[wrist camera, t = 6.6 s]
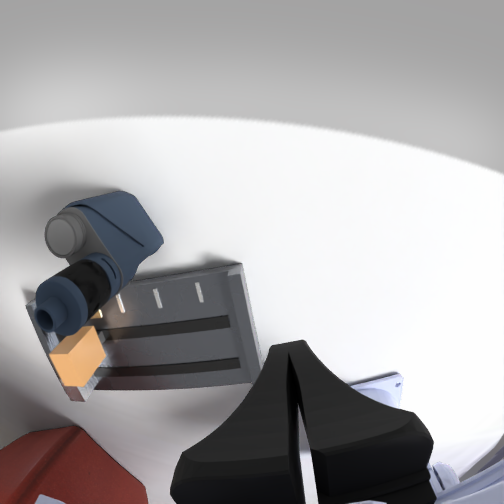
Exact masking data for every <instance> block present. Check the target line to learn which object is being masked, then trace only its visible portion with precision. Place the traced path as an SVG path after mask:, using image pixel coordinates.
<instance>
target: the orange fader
mask: <svg viewBox="0 0 504 504" xmlns="http://www.w3.org/2000/svg"><path fill="white" fill-rule="evenodd" d="M104 341H105V337H104V335H103V332H102V331H96V330H95V328H94V326H85V327H82V328H81V329H80V330H79V331H78V332H77V333H75V334H74V335H71V336H66V337H65V338H64V339H63V340H62V341H61V342H60V343H59V344H58V345H57V346H56V347H55V348H54V350H53V351H52V352H51V353H50V354H49V356H50V358H51V360H52V362H53V364H54V366H55V368H56V370H57V372H58V374H59V376H60V378H61V380H62V382H63V384H64V385H65V386H77V387H84V386H85V384H86V383H87V382H88V380H89V379H90V377H91V376H92V375H93V373H94V372H95V370H96V369H97V368H98V366H99V365H100V364H101V362H102V361H103V359H104V358H105V357H106V354H105V352H104V350H103V347H102V344H103V342H104Z"/></svg>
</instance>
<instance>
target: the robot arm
mask: <svg viewBox="0 0 504 504" xmlns="http://www.w3.org/2000/svg"><path fill="white" fill-rule="evenodd" d="M397 383H398V384H397ZM402 387H403V376H402V375H401V374H396V375H392V376H389V377H385V378H381V379H377V380H373V381H369V382H365V383H361V384H357V385H353V386H349V385H347V384H346V383H344V382H343V381H342V380H341V379H339V378H338V377H337V376H336V375H335V374H333V373H332V372H331V371H330V370H329V369H328V368H327V367H326V366H325V365H324V364H323V363H322V362H321V361H320V360H319V359H318V358H317V356H316V355H315V354H314V353H313V351H312V350H311V349H310V347H309V346H308V344H307V342H306V341H304V340H298V341H293V342H288V343H282V344H277V345H272V346H271V347H270V349H269V353H268V356H267V358H266V361H265V363H264V366H263V368H262V370H261V372H260V374H259V376H258V378H257V380H256V381H255V383H254V385H253V386H252V388H251V390H250V391H249V393H248V394H247V396H246V397H245V399H244V400H243V401H242V403H241V404H240V405H239V407H238V408H237V409H236V410H235V411H234V412H233V413H232V414H231V416H230V417H229V418H228V419H227V420H226V421H225V422H224V423H223V424H222V425H221V426H219V427H218V428H217V429H216V430H215V431H213V432H212V433H211V434H210V435H208V436H207V437H206V438H204V439H203V440H201V441H200V442H198V443H197V444H195V445H194V446H192V447H190V448H189V449H187V450H185V451H184V452H182V454H181V456H180V459H179V461H178V463H177V466H176V468H175V472H174V476H173V479H172V483H171V487H170V495H171V497H172V498H173V500H174V501H175V502H176V504H306V502H305V494H304V486H303V478H302V470H301V462H300V454H299V420H298V405H299V408H300V412H301V416H302V419H303V423H304V427H305V430H306V434H307V438H308V441H309V445H310V450H311V456H312V463H313V469H314V476H315V482H316V489H317V496H318V503H319V504H504V459H503V460H501V461H500V462H498V463H496V464H495V465H493V466H491V467H489V468H488V469H486V470H484V471H482V472H480V473H478V474H476V475H475V476H473V477H471V478H469V479H467V480H465V481H463V482H461V483H460V481H459V479H458V477H457V475H456V474H455V472H454V470H453V469H452V467H451V466H450V465H449V464H444V463H443V464H442V463H441V462H437V463H436V464H434V465H433V470H434V472H433V470H432V468H431V466H430V464H429V459H430V456H431V453H432V450H433V444H434V441H433V439H432V437H431V435H430V433H429V431H428V429H427V428H426V426H425V425H424V424H423V423H422V421H421V420H420V419H419V418H418V416H417V415H416V414H415V413H413V412H409V411H406V410H402V409H400V403H401V395H402ZM35 504H65V503H64V502H62V501H59V500H56V499H53V498H50V497H48V496H45V495H39V497H38V499H37V500H36V502H35Z"/></svg>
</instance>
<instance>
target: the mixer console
mask: <svg viewBox="0 0 504 504" xmlns="http://www.w3.org/2000/svg"><path fill="white" fill-rule="evenodd" d="M35 299H36V298H35ZM35 299H34V300H33V301H31V302H30V303H28V304H27V305H25V306H26V309H27V311H28V314H29V316H30V319H31V321H32V324H33V326H34V328H35V331H36V333H37V335H38V338H39V340H40V342H41V344H42V347H43V349H44V351H45V353H46V355H47V357H48V359H49V361H50V363H51V365H52V367H53V369H54V371H55V373H56V375H57V377H58V379H59V381H60V383H61V385H62V386H63V388H64V390H65V392H66V394H68V396H69V398H70V400H71V401H81V402H86V400H87V399H88V397H89V395H90V394H91V392H92V391H93V390H165V389H185V388H200V387H212V386H223V385H233V384H242V383H251V382H252V383H253V385H254V383H255V381H256V380H257V378H258V376H259V374H260V372H261V370H262V368H263V362H262V357H261V352H260V348H259V343H258V338H257V333H256V328H255V324H254V319H253V314H252V309H251V304H250V299H249V294H248V290H247V285H246V280H245V275H244V270H243V265H242V263H240V264H235V265H229V266H223V267H217V268H211V269H205V270H199V271H193V272H187V273H181V274H174V275H168V276H162V277H156V278H150V279H144V280H138V281H131V282H130V284H129V285H127V286H126V287H125V288H123V289H122V290H120V292H119V293H118V294H117V295H116V296H115V297H113V298H111V299H110V300H109V301H108V302H107V303H106V304H105V305H104V306H103V307H102V308H101V309H100V310H99V311H98V312H97V313H96V314H95V315H94V316H93V317H92V318H91V319H90V320H89V321H87V323H85V325H84V326H83V327H85V326H94V328H95V330H96V331H102V332H103V335H104V337H105V341H104V342H103V344H102V347H103V350H104V352H105V354H106V357H105V358H104V359H103V361H102V362H101V364H100V365H99V366H98V368H97V369H96V370H95V372H94V373H93V375H92V376H91V377H90V379H89V380H88V382H87V383H86V384H85V386H84V387H77V386H65V385H64V384H63V382H62V380H61V378H60V376H59V374H58V372H57V370H56V368H55V366H54V364H53V362H52V360H51V358H50V356H49V354H50V353H51V352H52V351H53V350H54V348H55V347H56V346H57V345H58V344H59V343H60V342H61V341H62V340H63V339H64V338H65V337H66V336H63V335H60V334H57V333H55V332H54V331H53V332H51V333H48V332H45V331H43V330H42V329H41V328H40V327H39V326H38V325H37V323H36V321H35V317H34V311H35V309H36V308H37V307H36V300H35ZM95 311H96V310H95Z"/></svg>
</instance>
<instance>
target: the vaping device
mask: <svg viewBox="0 0 504 504" xmlns="http://www.w3.org/2000/svg"><path fill="white" fill-rule="evenodd" d="M45 241H46V244H47V246H48V248H49V250H50V251H51V252H52V253H53V254H54V255H55V256H57V257H59V258H66V260H67V261H68V263H69V264H70V266H69V267H67V268H65V269H64V270H62V271H60V272H59V273H57V274H56V275H54V276H52V277H51V278H49V279H48V280H46V281H44V282H43V283H42V284H40V286H39V287H38V289H37V292H36V299H35V300H36V307H37V308H36V309H35V311H34V317H35V321H36V323H37V325H38V326H39V327H40V328H41V329H42V330H43V331H45V332H48V333H51V332H53V331H54V332H55V333H57V334H60V335H63V336H71V335H74V334H75V333H77V332H78V331H79V330H80V329H81V328H82V327H83V326H84V325H85V323H87V321H89V320H90V319H91V318H92V317H93V316H94V315H95V314H96V313H97V312H98V311H99V310H100V309H101V308H102V307H103V306H104V305H105V304H106V303H107V302H108V301H109V300H110V299H111V298H113V297H115V296H116V295H117V294H118V293H119V292H120V290H122V289H123V288H125V287H126V286H127V285H129V284H130V281H131V280H132V278H133V277H134V275H135V273H136V271H137V268H138V266H139V264H140V263H141V262H142V261H143V260H145V259H146V258H147V257H148V256H150V255H152V254H154V253H155V252H156V251H157V250H158V249H159V248H160V246H161V245H162V244H163V243H164V241H163V237H162V235H161V234H160V232H159V231H158V229H157V228H156V226H155V225H154V223H153V222H152V221H151V219H150V218H149V216H148V215H147V213H146V212H145V210H144V209H143V207H142V206H141V204H140V203H139V201H138V200H137V198H136V197H135V196H134V195H132V194H129V193H127V192H125V191H117V192H113V193H108V194H104V195H100V196H95V197H91V198H87V199H83V200H79V201H75V202H72V203H70V204H69V205H67V206H66V207H65V208H63V210H61V211H60V212H59V213H58V214H57V216H55V217H53V218H51V219H50V220H49V221H48V223H47V225H46V228H45ZM95 310H96V311H95Z"/></svg>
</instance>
